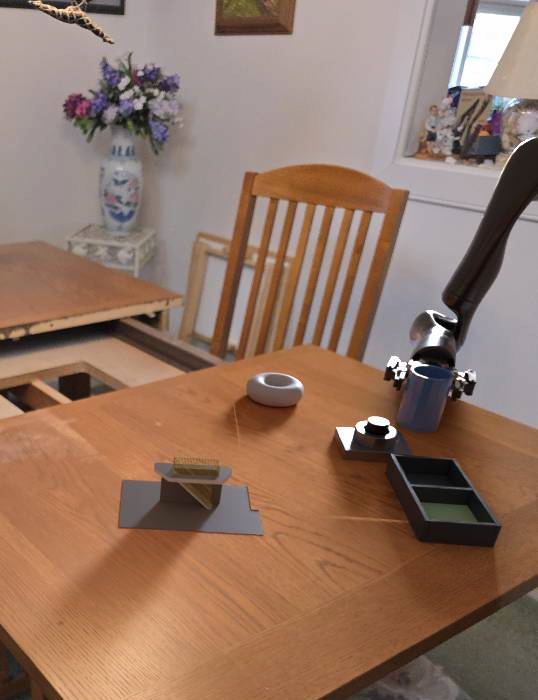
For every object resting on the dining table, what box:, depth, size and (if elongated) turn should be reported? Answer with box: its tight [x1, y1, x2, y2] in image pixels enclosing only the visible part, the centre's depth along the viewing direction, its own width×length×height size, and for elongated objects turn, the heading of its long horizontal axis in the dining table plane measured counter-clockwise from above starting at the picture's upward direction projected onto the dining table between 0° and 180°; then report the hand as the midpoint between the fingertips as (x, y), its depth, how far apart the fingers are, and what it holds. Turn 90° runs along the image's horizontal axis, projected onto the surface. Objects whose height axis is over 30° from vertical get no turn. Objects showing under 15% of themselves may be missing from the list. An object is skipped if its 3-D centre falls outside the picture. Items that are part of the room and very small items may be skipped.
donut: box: [245, 372, 305, 408], centre depth 122 cm, size 10×4×10 cm
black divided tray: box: [384, 454, 503, 548], centre depth 94 cm, size 9×18×3 cm, turn 177°
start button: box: [365, 416, 391, 435], centre depth 106 cm, size 3×3×2 cm
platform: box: [118, 456, 265, 536], centre depth 90 cm, size 12×18×7 cm, turn 88°
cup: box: [395, 365, 454, 434], centre depth 114 cm, size 7×7×9 cm
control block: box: [333, 420, 415, 464], centre depth 107 cm, size 10×8×4 cm
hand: (427, 390), depth 113 cm, fingers open, 8 cm apart
